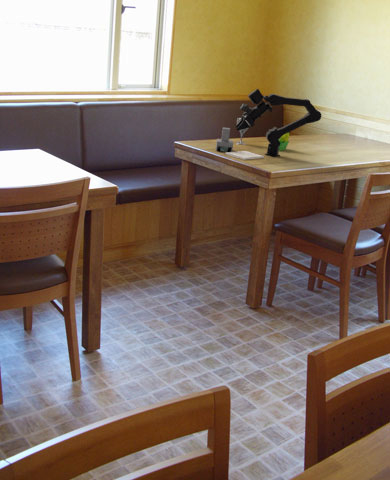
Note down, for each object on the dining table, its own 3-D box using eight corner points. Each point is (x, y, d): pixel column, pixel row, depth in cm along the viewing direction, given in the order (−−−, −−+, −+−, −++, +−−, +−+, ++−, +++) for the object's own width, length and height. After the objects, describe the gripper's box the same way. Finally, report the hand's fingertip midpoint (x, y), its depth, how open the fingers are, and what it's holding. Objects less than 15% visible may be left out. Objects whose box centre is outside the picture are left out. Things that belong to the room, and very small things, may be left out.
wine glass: (235, 141, 375) (238, 117, 370) (248, 143, 374) (251, 118, 369) (233, 143, 368) (236, 118, 363) (246, 145, 367) (249, 120, 362)
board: (245, 152, 344) (245, 150, 344) (263, 157, 335) (264, 156, 335) (225, 154, 334) (225, 152, 333) (244, 159, 324) (244, 158, 324)
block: (227, 150, 346) (228, 143, 344) (227, 151, 342) (228, 144, 340) (220, 149, 345) (221, 142, 344) (220, 151, 342) (221, 144, 340)
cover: (231, 149, 348) (234, 127, 344) (232, 152, 339) (234, 130, 335) (215, 148, 348) (218, 126, 344) (216, 151, 339) (218, 128, 335)
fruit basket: (276, 147, 372) (279, 128, 368) (290, 149, 368) (293, 131, 364) (269, 149, 362) (272, 130, 358) (283, 152, 358) (286, 132, 354)
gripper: (248, 97, 343) (227, 115, 346) (251, 101, 325) (228, 119, 329) (260, 113, 345) (239, 130, 349) (263, 117, 328) (240, 135, 331)
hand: (236, 128), depth 339 cm, fingers open, 9 cm apart
